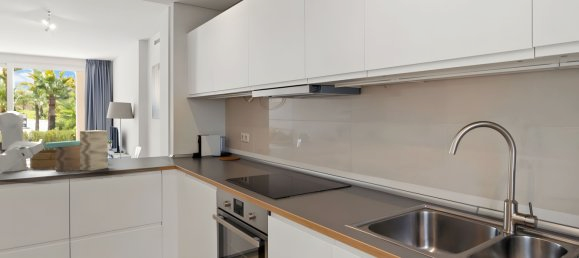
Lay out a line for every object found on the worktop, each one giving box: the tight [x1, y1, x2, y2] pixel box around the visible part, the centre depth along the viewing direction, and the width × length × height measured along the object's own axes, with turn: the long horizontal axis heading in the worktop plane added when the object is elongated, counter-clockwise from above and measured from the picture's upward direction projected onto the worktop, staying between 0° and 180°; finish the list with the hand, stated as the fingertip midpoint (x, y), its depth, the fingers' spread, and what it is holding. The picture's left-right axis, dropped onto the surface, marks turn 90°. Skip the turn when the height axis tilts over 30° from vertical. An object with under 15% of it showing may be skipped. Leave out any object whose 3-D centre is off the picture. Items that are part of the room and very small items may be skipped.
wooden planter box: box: [29, 149, 56, 170], centre depth 242 cm, size 25×25×11 cm
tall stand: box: [79, 129, 109, 171], centre depth 230 cm, size 9×14×26 cm, turn 166°
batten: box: [44, 140, 80, 149], centre depth 222 cm, size 3×24×3 cm, turn 165°
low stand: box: [54, 145, 80, 172], centre depth 227 cm, size 8×14×16 cm, turn 166°
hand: (37, 139), depth 205 cm, fingers open, 8 cm apart
